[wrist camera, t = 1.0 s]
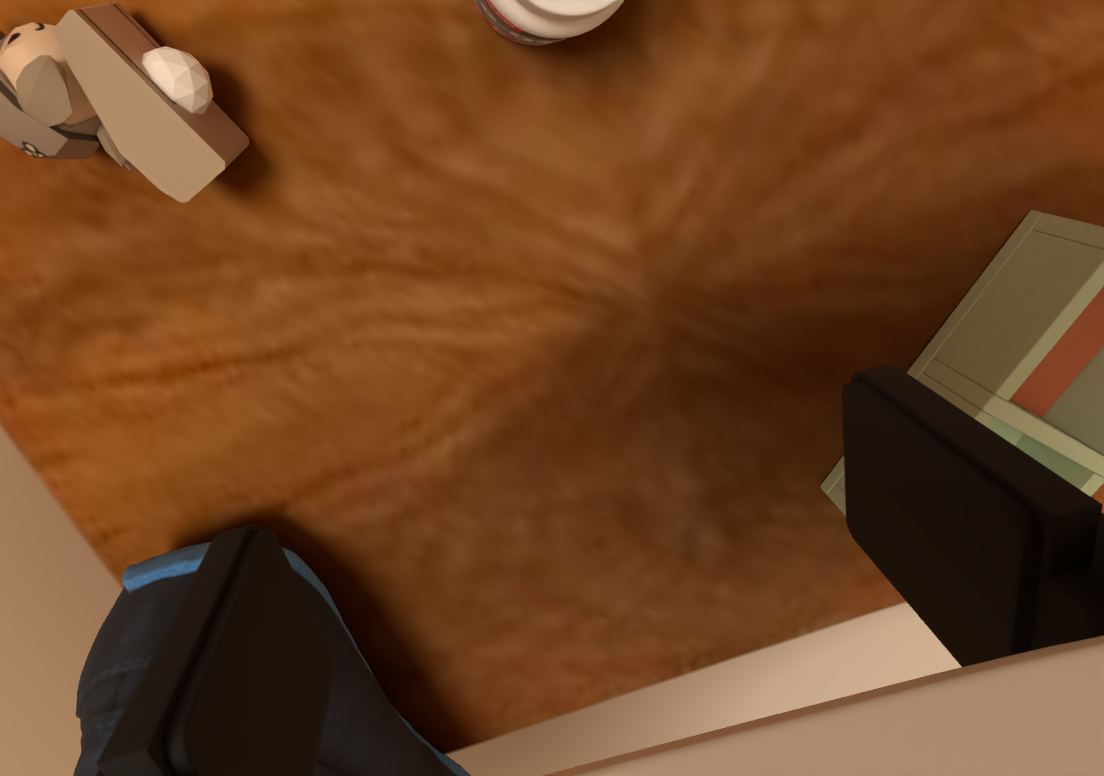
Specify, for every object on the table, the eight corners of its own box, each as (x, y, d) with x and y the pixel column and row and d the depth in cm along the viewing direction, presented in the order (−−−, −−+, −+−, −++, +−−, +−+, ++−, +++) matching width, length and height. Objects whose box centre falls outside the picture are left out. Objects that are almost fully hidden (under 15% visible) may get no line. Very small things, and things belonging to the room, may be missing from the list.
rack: (1030, 208, 30) (1128, 232, 25) (1145, 289, 32) (1252, 323, 28) (818, 486, 35) (870, 545, 30) (932, 538, 37) (995, 600, 33)
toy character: (-3, -115, 17) (-140, 41, 19) (250, 146, 21) (121, 259, 23) (71, -105, 21) (-50, 26, 22) (277, 119, 25) (164, 218, 26)
